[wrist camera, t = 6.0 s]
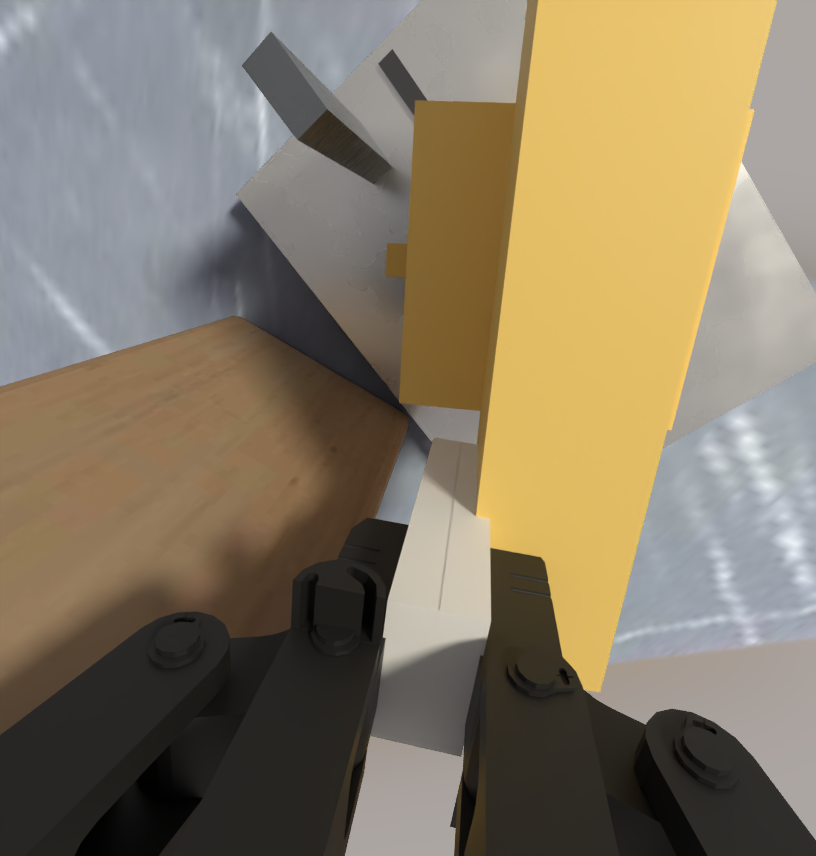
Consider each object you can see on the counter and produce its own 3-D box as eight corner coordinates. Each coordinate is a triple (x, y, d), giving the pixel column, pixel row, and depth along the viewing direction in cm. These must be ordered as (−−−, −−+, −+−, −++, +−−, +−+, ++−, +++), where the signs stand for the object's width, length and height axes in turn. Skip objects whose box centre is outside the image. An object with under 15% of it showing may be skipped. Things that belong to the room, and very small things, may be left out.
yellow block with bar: (383, 444, 23) (281, 640, 11) (403, 12, 17) (239, -455, 6) (635, 472, 21) (806, 725, 10) (746, 14, 16) (1409, -583, 4)
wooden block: (327, 555, 28) (39, 1160, 10) (170, 468, 28) (-466, 937, 9) (414, 415, 25) (223, 950, 6) (236, 310, 24) (-604, 548, 5)
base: (248, 196, 22) (77, 159, 13) (560, -124, 17) (648, -566, 8) (505, 524, 26) (516, 678, 17) (825, 340, 21) (1101, 414, 11)
